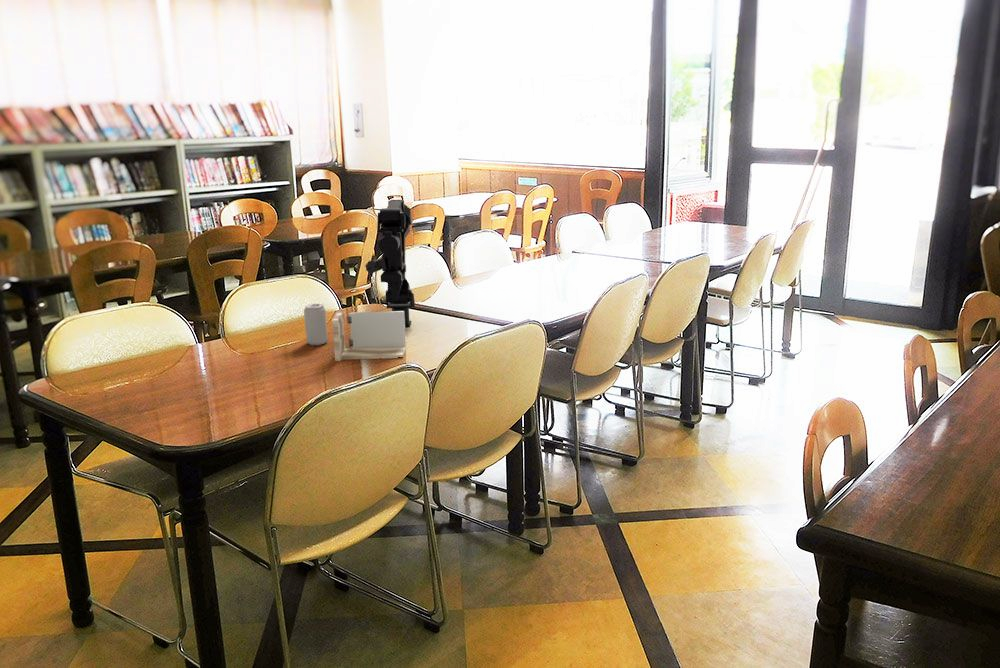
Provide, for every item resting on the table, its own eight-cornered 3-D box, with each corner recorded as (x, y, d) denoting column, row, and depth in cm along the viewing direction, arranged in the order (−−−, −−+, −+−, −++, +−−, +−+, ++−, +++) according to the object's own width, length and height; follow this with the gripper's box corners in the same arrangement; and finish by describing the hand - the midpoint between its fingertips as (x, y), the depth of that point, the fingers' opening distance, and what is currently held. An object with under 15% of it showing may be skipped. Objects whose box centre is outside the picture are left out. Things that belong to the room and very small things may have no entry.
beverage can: (330, 340, 250) (327, 303, 247) (324, 346, 244) (321, 307, 241) (310, 340, 251) (307, 302, 247) (303, 346, 244) (300, 307, 241)
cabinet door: (349, 348, 239) (347, 312, 236) (406, 346, 240) (404, 310, 237) (348, 349, 238) (346, 313, 235) (405, 347, 239) (403, 312, 236)
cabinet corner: (340, 351, 238) (337, 312, 235) (405, 349, 239) (403, 310, 236) (335, 361, 229) (332, 320, 225) (402, 359, 229) (400, 318, 226)
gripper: (370, 245, 255) (373, 293, 259) (362, 255, 237) (365, 306, 241) (405, 244, 255) (407, 292, 259) (399, 254, 237) (402, 305, 241)
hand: (395, 299), depth 250 cm, fingers closed
